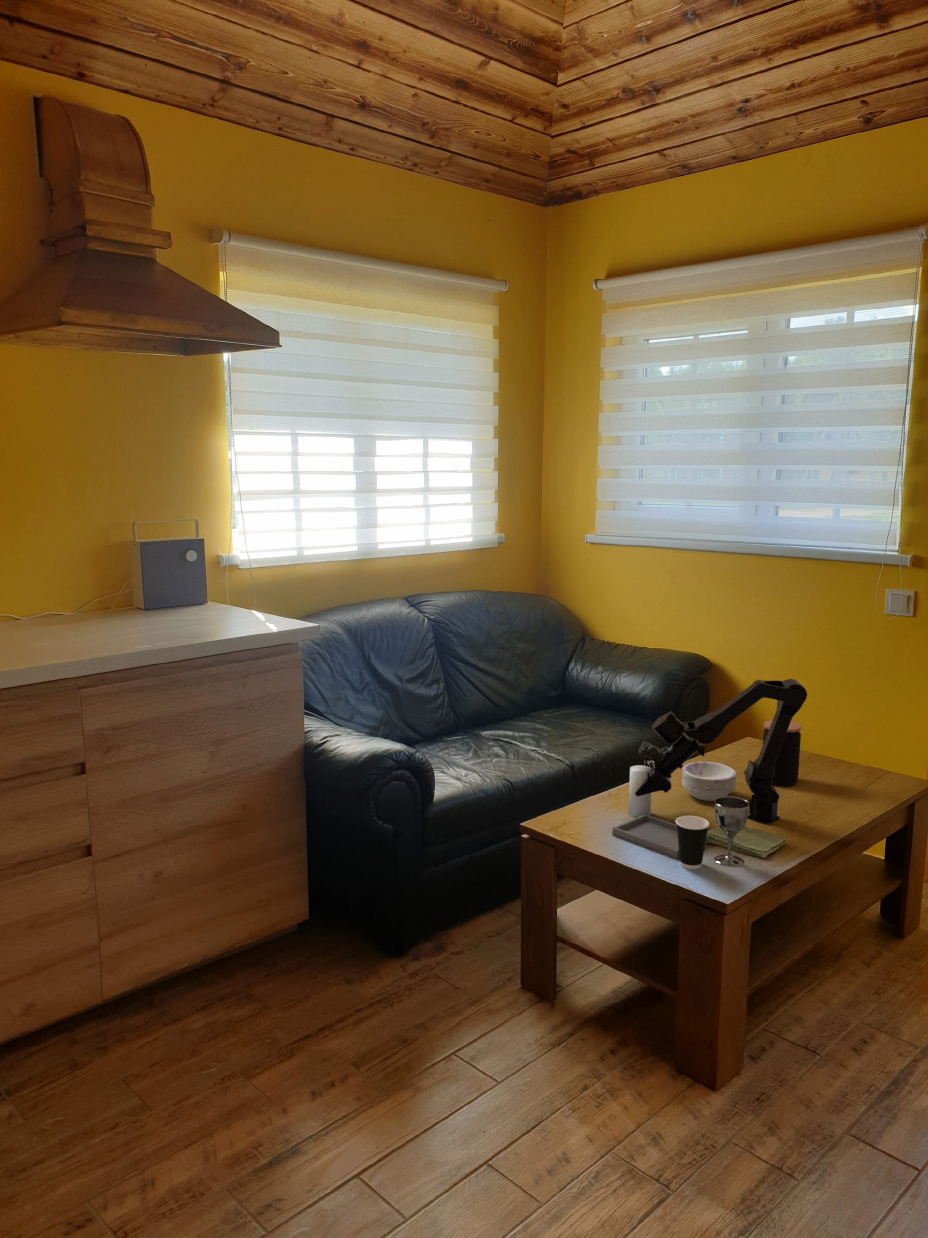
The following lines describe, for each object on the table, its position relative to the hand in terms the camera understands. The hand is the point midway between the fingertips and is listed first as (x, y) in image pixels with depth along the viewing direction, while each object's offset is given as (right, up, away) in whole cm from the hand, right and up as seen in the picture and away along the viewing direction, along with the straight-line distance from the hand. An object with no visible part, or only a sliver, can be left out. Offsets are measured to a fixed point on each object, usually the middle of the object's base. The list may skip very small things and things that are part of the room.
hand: (635, 791), depth 254 cm
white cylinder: (+1, -7, +1) cm, 7 cm away
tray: (+4, -10, -16) cm, 19 cm away
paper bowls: (+24, -4, +15) cm, 28 cm away
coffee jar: (+49, -2, +26) cm, 55 cm away
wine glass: (+18, -12, -28) cm, 35 cm away
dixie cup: (+8, -12, -31) cm, 34 cm away
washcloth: (+24, -11, -18) cm, 32 cm away
